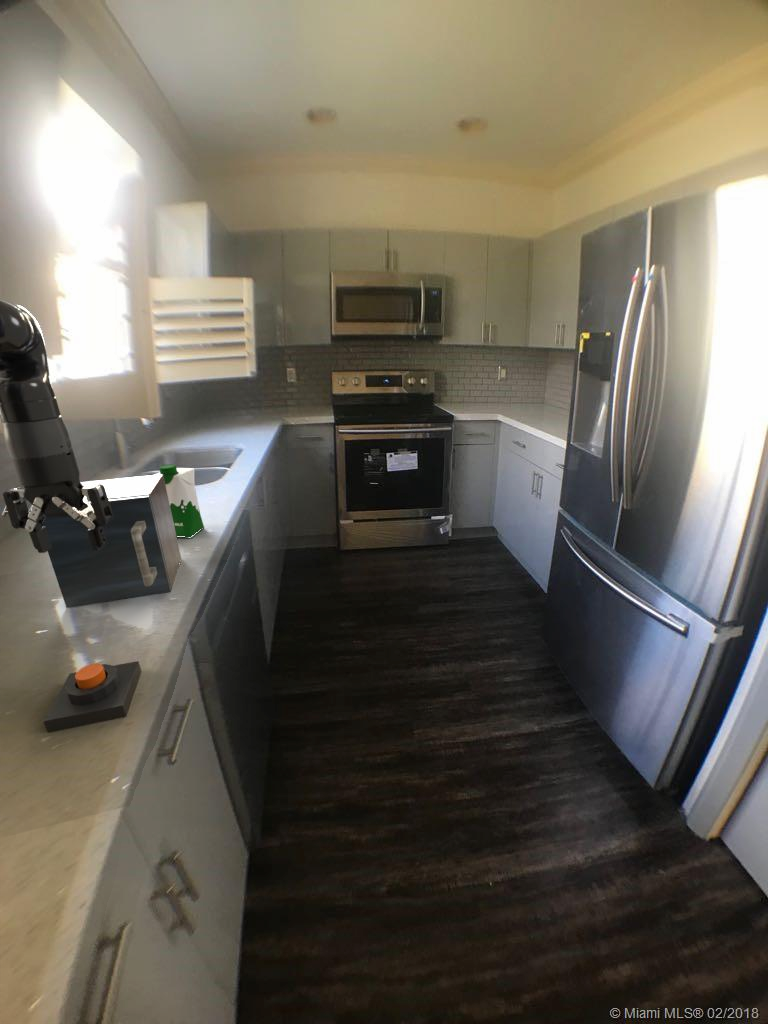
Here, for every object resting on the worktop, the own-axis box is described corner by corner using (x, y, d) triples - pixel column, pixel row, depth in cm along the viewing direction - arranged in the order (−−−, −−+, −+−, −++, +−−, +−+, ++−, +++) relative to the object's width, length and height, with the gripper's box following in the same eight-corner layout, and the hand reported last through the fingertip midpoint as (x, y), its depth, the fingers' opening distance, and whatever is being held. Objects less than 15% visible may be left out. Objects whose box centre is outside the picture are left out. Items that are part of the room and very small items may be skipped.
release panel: (47, 733, 64) (39, 711, 62) (73, 684, 73) (66, 664, 71) (126, 717, 66) (119, 695, 64) (141, 671, 75) (136, 651, 74)
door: (166, 604, 94) (142, 505, 86) (56, 622, 89) (20, 519, 81) (171, 589, 99) (149, 495, 91) (67, 605, 95) (35, 507, 87)
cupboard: (171, 589, 100) (149, 494, 92) (68, 605, 95) (35, 506, 87) (181, 559, 113) (163, 474, 105) (91, 571, 108) (65, 483, 101)
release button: (74, 691, 66) (71, 682, 65) (82, 675, 69) (79, 665, 69) (101, 686, 67) (98, 677, 66) (109, 670, 70) (106, 661, 69)
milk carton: (162, 538, 125) (146, 468, 118) (181, 526, 134) (167, 459, 126) (191, 540, 124) (177, 469, 116) (209, 527, 132) (196, 459, 125)
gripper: (-29, 458, 63) (10, 562, 69) (74, 454, 63) (104, 558, 69) (11, 445, 70) (43, 541, 76) (104, 442, 70) (129, 538, 76)
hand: (72, 549), depth 73 cm, fingers open, 8 cm apart
